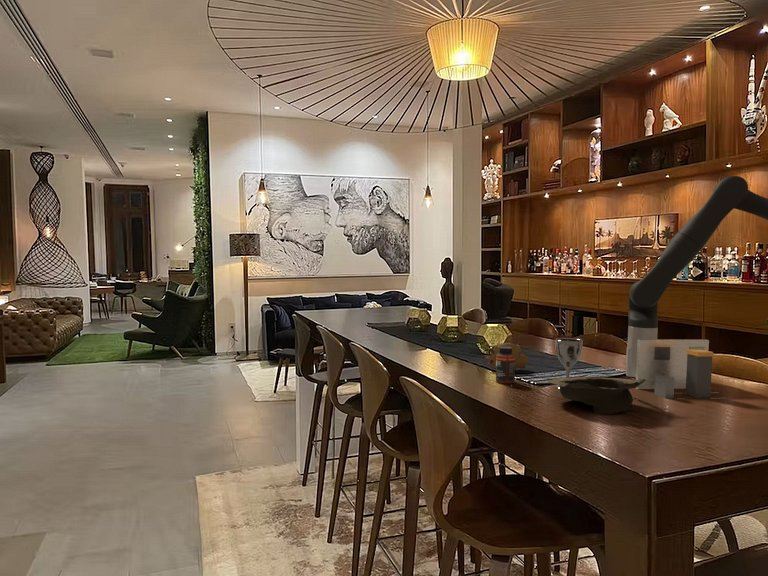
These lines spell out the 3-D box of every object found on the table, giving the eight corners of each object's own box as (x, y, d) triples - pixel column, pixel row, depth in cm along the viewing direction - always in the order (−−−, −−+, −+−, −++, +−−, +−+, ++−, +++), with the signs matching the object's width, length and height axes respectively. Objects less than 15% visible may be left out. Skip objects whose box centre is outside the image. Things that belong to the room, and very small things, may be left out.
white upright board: (703, 391, 180) (706, 339, 179) (741, 403, 165) (744, 347, 164) (635, 391, 176) (637, 339, 175) (667, 404, 161) (670, 347, 160)
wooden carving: (522, 368, 211) (523, 341, 211) (529, 370, 207) (530, 342, 206) (481, 370, 206) (482, 342, 206) (488, 372, 202) (489, 344, 201)
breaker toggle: (699, 393, 171) (701, 349, 170) (711, 397, 166) (713, 352, 165) (684, 393, 170) (686, 349, 169) (695, 397, 165) (698, 352, 165)
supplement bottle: (516, 381, 187) (517, 346, 187) (512, 385, 182) (513, 349, 181) (497, 379, 190) (499, 345, 189) (493, 383, 184) (494, 347, 184)
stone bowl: (637, 423, 141) (636, 385, 140) (536, 414, 154) (534, 379, 154) (652, 401, 162) (650, 368, 161) (561, 395, 175) (560, 365, 175)
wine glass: (580, 386, 182) (582, 338, 182) (580, 391, 175) (582, 342, 174) (554, 384, 185) (556, 337, 184) (553, 389, 178) (555, 340, 177)
